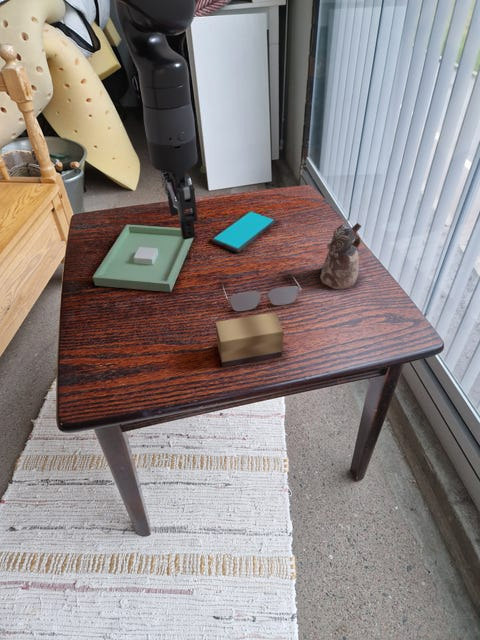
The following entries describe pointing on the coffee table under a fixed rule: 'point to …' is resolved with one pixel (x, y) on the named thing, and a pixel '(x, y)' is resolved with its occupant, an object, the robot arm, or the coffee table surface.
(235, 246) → the smartphone
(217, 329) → the eraser
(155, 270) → the tray
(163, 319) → the coffee table surface
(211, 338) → the coffee table surface
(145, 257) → the chalk lump
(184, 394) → the coffee table surface
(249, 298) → the eyeglasses
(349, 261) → the figurine
